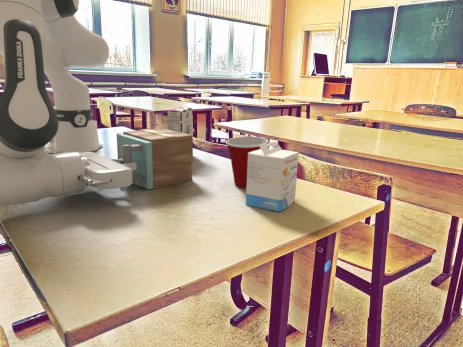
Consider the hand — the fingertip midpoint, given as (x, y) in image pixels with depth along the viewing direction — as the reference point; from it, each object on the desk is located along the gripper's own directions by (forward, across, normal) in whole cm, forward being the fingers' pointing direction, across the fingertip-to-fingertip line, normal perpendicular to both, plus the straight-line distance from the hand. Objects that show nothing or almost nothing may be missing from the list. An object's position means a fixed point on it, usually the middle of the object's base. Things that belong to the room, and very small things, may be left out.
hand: (131, 163), depth 84 cm
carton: (+11, +5, +6) cm, 14 cm away
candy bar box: (+29, +20, +7) cm, 36 cm away
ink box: (+20, -27, +7) cm, 34 cm away
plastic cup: (+25, -14, +7) cm, 29 cm away
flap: (+1, +5, +6) cm, 8 cm away
